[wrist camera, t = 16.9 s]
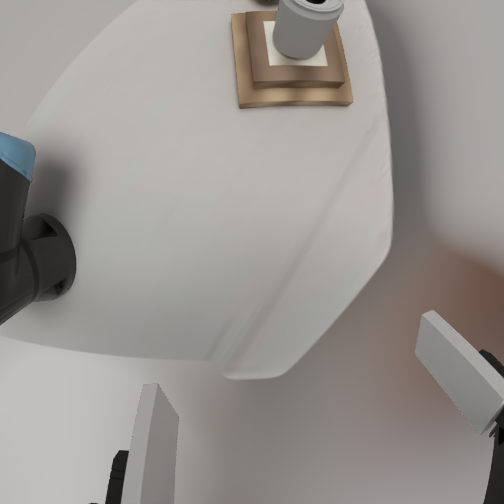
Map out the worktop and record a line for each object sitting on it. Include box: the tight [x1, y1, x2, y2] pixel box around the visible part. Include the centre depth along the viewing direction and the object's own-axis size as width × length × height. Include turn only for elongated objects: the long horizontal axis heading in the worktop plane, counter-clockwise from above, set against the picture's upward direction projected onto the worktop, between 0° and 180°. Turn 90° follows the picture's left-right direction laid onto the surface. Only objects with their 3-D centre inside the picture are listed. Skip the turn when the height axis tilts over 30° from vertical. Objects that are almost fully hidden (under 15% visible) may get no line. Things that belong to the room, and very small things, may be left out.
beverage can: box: [273, 0, 344, 59], centre depth 23 cm, size 6×6×12 cm
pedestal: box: [231, 11, 353, 108], centre depth 31 cm, size 16×16×6 cm
